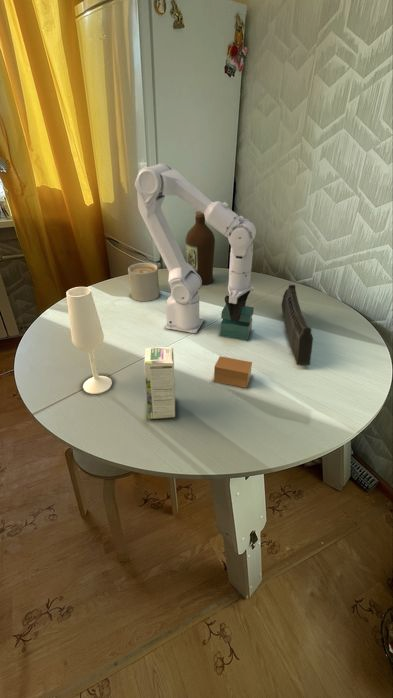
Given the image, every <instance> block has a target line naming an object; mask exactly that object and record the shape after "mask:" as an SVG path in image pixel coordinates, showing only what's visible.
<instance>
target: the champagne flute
mask: <svg viewBox="0 0 393 698" xmlns="http://www.w3.org/2000/svg"><path fill="white" fill-rule="evenodd" d="M65 293H66V302H67V312H68V319H69V328H70V335H71V336H70V337H71V343H72V344H73V346H74V347H76V349H79V350H81V351H82V352H85V353H88V357H89V362H90V368H91V373H92V377H90V378H88V379H86V381H84V383H83V385H82V389H83V390H84V391H85V392H86V393H88V394H91V395H94V394H95V395H97V394H102V393H104V392H106V391H109V389H110V388H111V386H112V385H113V380H112V379H111V377H108V376H105V375H99V371H98V365H97V362H96V357H95V356H96V355H95V351H96V350H97V349H98V348H99V347H100V346H101V345H102V343H103V342H104V339H105V334H104V331H103V327H102V325H101V321H100V317H99V314H98V310H97V306H96V303H95V300H94V297H93V293H92V290H91V288H90V287H87V286H76V287H72V288H70V289H68V290H67V291H66V292H65Z"/></svg>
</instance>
